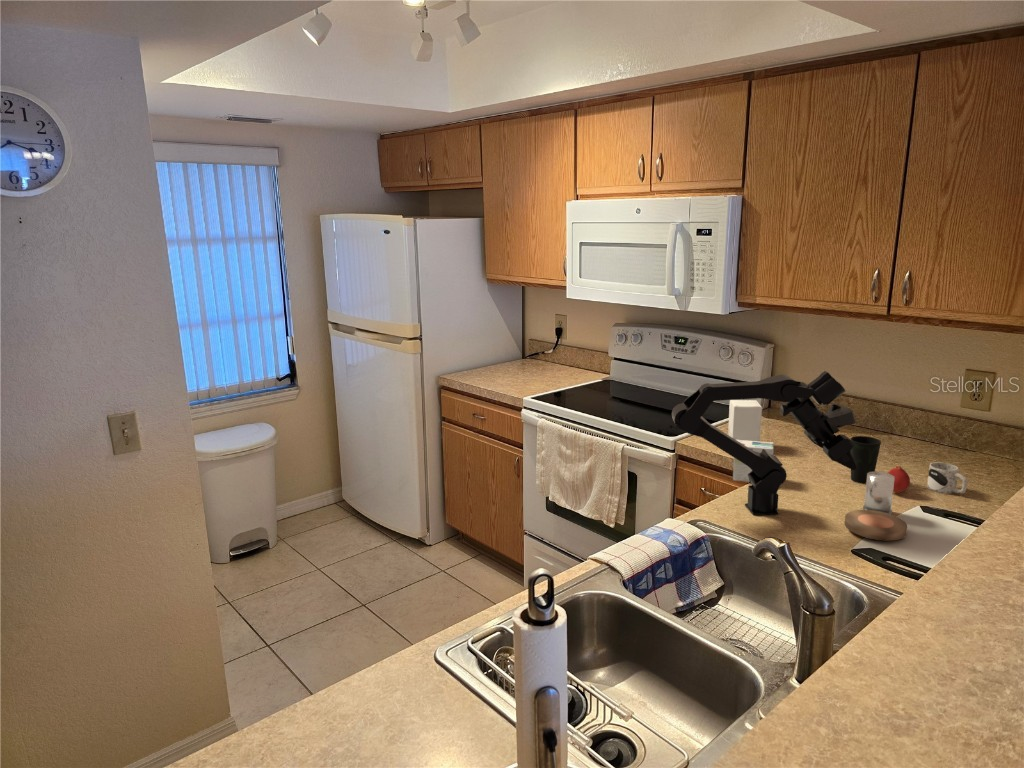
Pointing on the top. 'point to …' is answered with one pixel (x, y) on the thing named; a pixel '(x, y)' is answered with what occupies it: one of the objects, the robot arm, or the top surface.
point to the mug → (945, 478)
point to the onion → (900, 479)
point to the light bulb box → (743, 470)
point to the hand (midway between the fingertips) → (848, 462)
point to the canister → (879, 492)
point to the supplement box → (745, 420)
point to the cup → (864, 457)
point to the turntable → (875, 525)
